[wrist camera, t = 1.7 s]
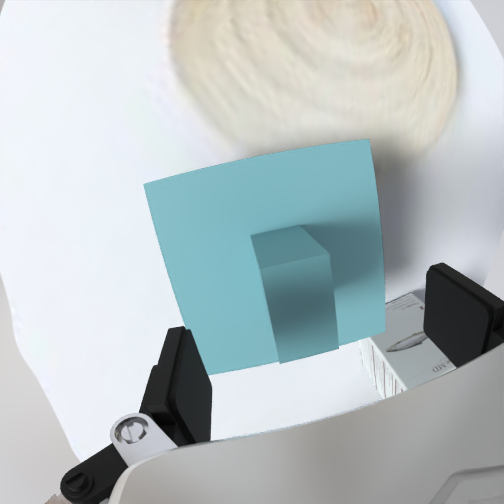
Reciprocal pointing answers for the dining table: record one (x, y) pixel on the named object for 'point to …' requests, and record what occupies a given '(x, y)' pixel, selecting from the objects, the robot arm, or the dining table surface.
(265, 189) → the lid
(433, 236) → the dining table surface
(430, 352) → the supplement box
